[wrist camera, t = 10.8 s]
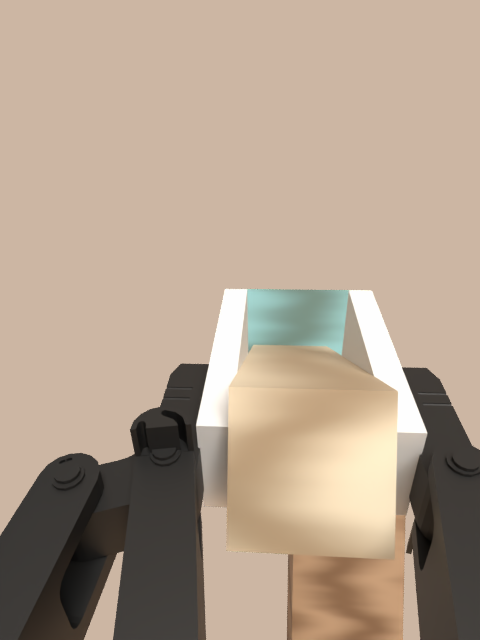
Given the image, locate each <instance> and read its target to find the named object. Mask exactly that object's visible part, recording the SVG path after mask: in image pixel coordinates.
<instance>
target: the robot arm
mask: <svg viewBox="0 0 480 640" xmlns="http://www.w3.org/2000/svg"><path fill="white" fill-rule="evenodd" d="M247 355H248V305H247V289H225V292H224V297H223V302H222V306H221V311H220V316H219V320H218V325H217V330H216V334H215V339H214V344H213V348H212V353H211V358H210V362H209V364H180V365H179V367H177V368H176V370H175V371H173V373H172V374H171V375H170V378H169V381H168V384H167V389H166V391H165V394H164V398H163V400H162V403H161V406H160V407H158V408H153V409H150V410H148V411H146V412H144V413H143V414H141V415H140V416H139V417H138V418H137V419H136V420H134V422H133V424H132V426H131V429H130V432H131V436H132V442H133V447H134V452H135V454H134V455H132V456H130V457H128V458H125V459H122V460H119V461H114V462H110V463H106V464H101V465H98V462H97V461H96V460H95V459H94V458H93V457H92V456H90V455H87V454H83V453H76V454H68V455H66V456H62V457H60V458H58V459H56V460H54V461H53V462H51V463H50V464H48V465H47V466H46V467H45V469H44V470H43V471H42V472H41V473H40V474H39V476H38V478H37V479H36V481H35V482H34V484H33V486H32V487H31V489H30V490H29V492H28V493H27V495H26V496H25V498H24V499H23V501H22V503H21V504H20V506H19V507H18V509H17V510H16V512H15V514H14V515H13V517H12V518H11V520H10V522H9V523H8V525H7V526H6V528H5V529H4V531H3V532H2V534H1V536H0V640H84V637H85V635H86V632H87V629H88V627H89V625H90V622H91V619H92V617H93V614H94V612H95V609H96V606H97V604H98V601H99V599H100V596H101V593H102V590H103V588H104V586H105V583H106V580H107V578H108V575H109V572H110V570H111V567H112V565H113V562H114V560H115V557H116V554H117V553H118V552H122V551H124V555H123V563H122V571H121V580H120V587H119V596H118V604H117V612H116V620H115V628H114V637H113V640H206V630H205V601H204V575H203V574H204V573H203V547H202V546H203V544H202V521H201V513H200V511H201V505H202V499H203V501H204V506H208V507H227V476H228V402H229V386H230V384H231V382H232V380H233V379H234V377H235V375H236V374H237V372H238V371H239V369H240V367H241V366H242V364H243V362H244V360H245V359H246V357H247ZM342 356H343V357H344V358H346V359H347V360H349V361H351V362H352V363H354V364H355V365H357V366H358V367H360V368H362V369H363V370H365V371H366V372H368V373H369V374H371V375H373V376H374V377H376V378H378V379H379V380H381V381H383V382H384V383H386V384H387V385H389V386H390V387H392V388H394V389H395V390H397V391H398V420H397V469H396V515H406V514H407V510H408V506H409V502H411V506H412V509H413V512H414V515H415V519H414V523H413V526H412V530H411V534H410V538H409V541H408V545H407V551H406V553H409V554H411V552H412V549H413V556H414V568H415V579H416V593H417V604H418V616H419V628H420V640H480V450H479V449H477V448H475V447H473V446H472V445H471V443H470V441H469V439H468V436H467V434H466V432H465V430H464V428H463V426H462V425H461V422H460V420H459V418H458V416H457V414H456V412H455V410H454V408H453V406H451V402H450V400H449V398H448V396H447V395H446V391H445V389H444V387H443V385H442V383H441V381H440V379H438V378H437V377H436V376H435V375H434V374H433V373H431V372H430V371H429V370H428V369H427V368H403V367H401V364H400V362H399V359H398V357H397V354H396V351H395V349H394V346H393V344H392V341H391V339H390V336H389V333H388V331H387V328H386V326H385V323H384V321H383V318H382V316H381V313H380V310H379V308H378V305H377V303H376V300H375V298H374V295H373V292H372V291H366V290H364V291H363V290H360V291H359V290H349V293H348V302H347V311H346V320H345V329H344V338H343V347H342Z"/></svg>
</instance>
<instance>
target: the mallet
mask: <svg viewBox="0 0 480 640" xmlns="http://www.w3.org/2000/svg"><path fill="white" fill-rule="evenodd" d="M348 293H349V290H273V289H272V290H271V289H269V290H268V289H247V305H248V355H247V357H246V359H245V360H244V362H243V364H242V366H241V367H240V369H239V371H238V372H237V374H236V375H235V377H234V379H233V380H232V382H231V384H230V386H229V402H228V476H227V551H237V552H256V553H275V554H293V555H313V556H332V557H351V558H370V559H390V560H395V518H396V469H397V420H398V391H397V390H395V389H394V388H392V387H390V386H389V385H387V384H386V383H384V382H383V381H381V380H379V379H378V378H376V377H374V376H373V375H371V374H369V373H368V372H366V371H365V370H363V369H362V368H360V367H358V366H357V365H355V364H354V363H352V362H351V361H349V360H347V359H346V358H344V357H343V356H342V347H343V338H344V329H345V320H346V311H347V302H348Z"/></svg>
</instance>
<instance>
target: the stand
mask: <svg viewBox="0 0 480 640" xmlns="http://www.w3.org/2000/svg"><path fill="white" fill-rule="evenodd" d="M404 554H405V515H396V518H395V560H390V559H370V558H351V557H332V556H313V555H293V554H288V606H287V607H288V608H287V609H288V610H287V640H403V601H404V599H403V598H404Z"/></svg>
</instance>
